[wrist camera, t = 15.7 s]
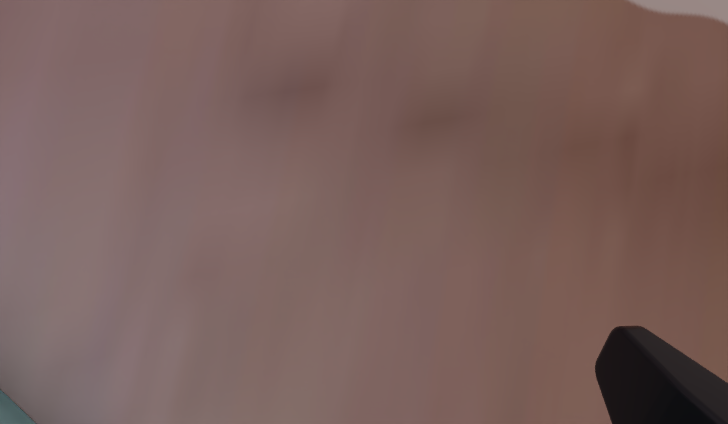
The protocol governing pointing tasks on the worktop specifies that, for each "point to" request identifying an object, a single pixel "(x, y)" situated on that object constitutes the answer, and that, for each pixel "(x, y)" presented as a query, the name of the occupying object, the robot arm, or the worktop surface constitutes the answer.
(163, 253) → the worktop surface
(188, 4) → the worktop surface
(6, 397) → the teal bin
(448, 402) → the worktop surface
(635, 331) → the robot arm
